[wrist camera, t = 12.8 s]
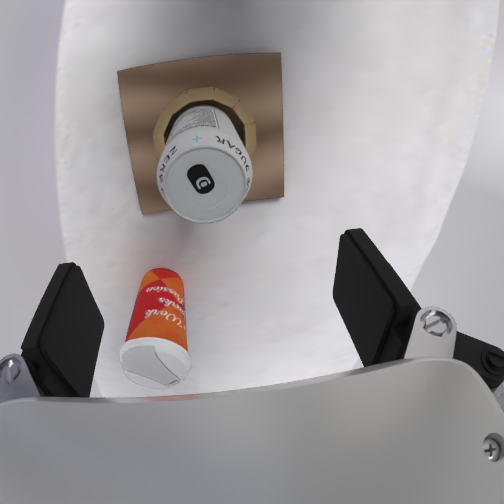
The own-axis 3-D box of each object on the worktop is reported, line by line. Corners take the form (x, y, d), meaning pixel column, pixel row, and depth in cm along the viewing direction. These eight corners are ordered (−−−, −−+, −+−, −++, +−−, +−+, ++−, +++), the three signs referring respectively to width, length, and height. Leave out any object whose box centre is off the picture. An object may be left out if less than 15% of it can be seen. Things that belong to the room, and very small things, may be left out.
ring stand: (119, 70, 26) (110, 72, 23) (278, 52, 28) (287, 52, 25) (143, 209, 35) (138, 224, 32) (282, 193, 37) (289, 206, 34)
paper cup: (203, 287, 43) (207, 373, 31) (162, 314, 44) (157, 397, 33) (161, 249, 38) (149, 335, 27) (122, 281, 40) (102, 366, 29)
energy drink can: (191, 170, 32) (186, 247, 20) (162, 122, 29) (133, 169, 17) (242, 143, 32) (273, 204, 19) (215, 92, 28) (228, 116, 16)
